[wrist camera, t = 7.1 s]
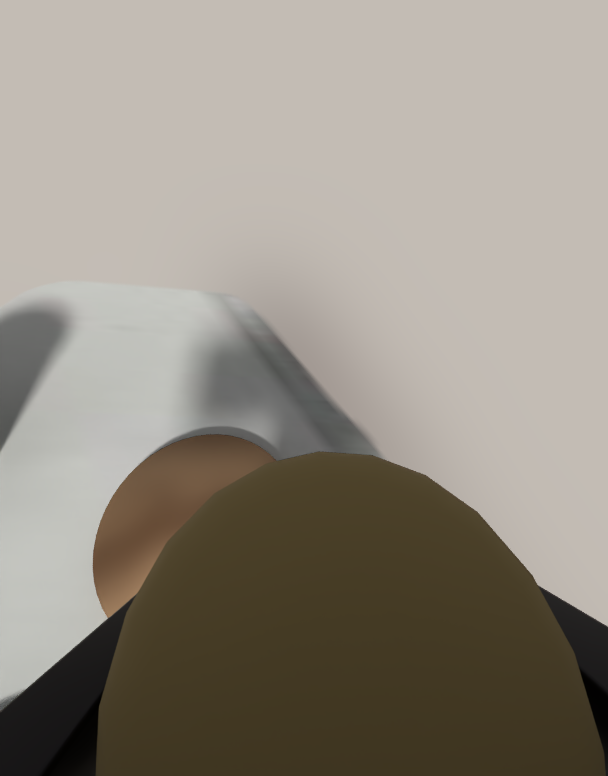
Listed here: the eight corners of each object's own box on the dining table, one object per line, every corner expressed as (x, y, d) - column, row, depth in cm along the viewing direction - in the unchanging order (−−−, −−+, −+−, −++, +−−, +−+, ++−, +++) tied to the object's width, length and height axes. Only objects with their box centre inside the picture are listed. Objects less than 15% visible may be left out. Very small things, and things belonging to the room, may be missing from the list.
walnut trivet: (337, 579, 19) (338, 577, 18) (123, 707, 16) (113, 713, 16) (256, 414, 25) (254, 407, 24) (88, 488, 22) (79, 483, 21)
